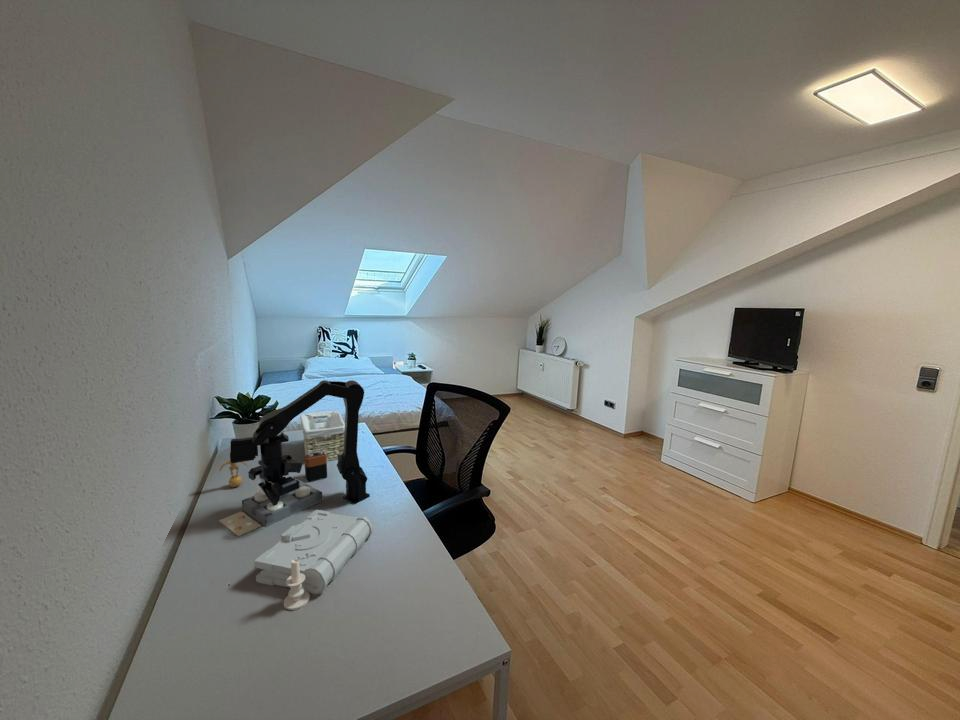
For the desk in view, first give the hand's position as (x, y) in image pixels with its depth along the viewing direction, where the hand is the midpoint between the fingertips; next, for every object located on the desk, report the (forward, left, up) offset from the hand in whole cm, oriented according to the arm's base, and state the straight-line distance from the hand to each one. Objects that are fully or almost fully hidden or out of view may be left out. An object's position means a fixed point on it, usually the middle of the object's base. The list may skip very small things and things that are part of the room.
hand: (275, 504), depth 117 cm
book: (-27, +1, -4) cm, 27 cm away
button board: (+4, -4, -3) cm, 7 cm away
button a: (0, -9, -1) cm, 9 cm away
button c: (0, 0, -2) cm, 2 cm away
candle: (-37, +15, -4) cm, 40 cm away
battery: (+12, -21, -4) cm, 25 cm away
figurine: (+27, 0, -4) cm, 28 cm away
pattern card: (+4, +9, -3) cm, 10 cm away
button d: (+8, 0, -1) cm, 8 cm away
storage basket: (+31, -37, -4) cm, 48 cm away
